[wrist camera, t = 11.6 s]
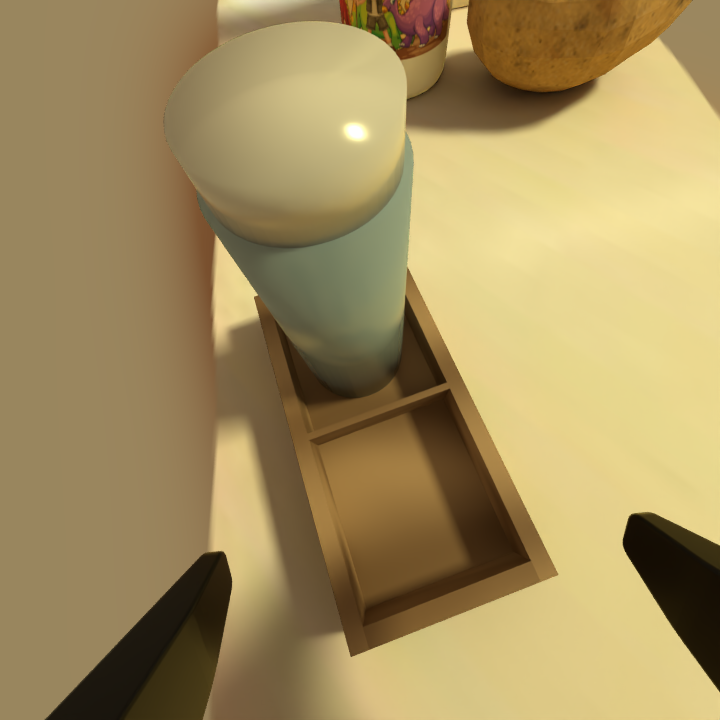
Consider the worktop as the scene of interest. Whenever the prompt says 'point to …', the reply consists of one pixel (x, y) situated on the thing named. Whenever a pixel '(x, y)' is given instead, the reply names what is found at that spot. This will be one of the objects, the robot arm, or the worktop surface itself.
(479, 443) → the caddy
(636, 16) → the potato
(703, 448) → the worktop surface
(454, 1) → the skyscraper
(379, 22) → the milk bottle
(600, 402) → the worktop surface
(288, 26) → the salt shaker
